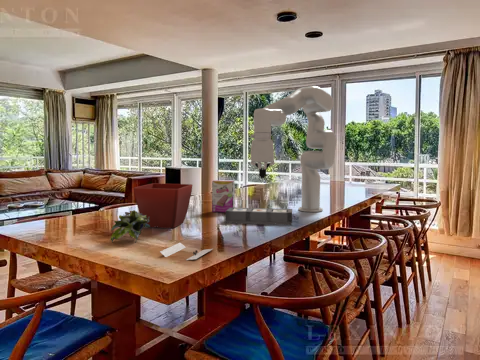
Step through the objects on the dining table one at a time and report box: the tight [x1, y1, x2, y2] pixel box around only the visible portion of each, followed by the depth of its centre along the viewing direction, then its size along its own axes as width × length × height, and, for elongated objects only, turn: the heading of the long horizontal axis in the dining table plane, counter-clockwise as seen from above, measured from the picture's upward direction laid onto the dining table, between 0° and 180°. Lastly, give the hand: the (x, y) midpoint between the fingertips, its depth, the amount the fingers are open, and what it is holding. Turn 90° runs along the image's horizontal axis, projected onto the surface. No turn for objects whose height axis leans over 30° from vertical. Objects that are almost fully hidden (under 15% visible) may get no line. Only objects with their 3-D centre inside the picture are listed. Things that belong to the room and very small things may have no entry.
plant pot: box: [133, 182, 193, 229], centre depth 153 cm, size 19×19×17 cm
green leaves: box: [109, 209, 151, 244], centre depth 127 cm, size 13×12×14 cm
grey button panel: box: [224, 207, 293, 226], centre depth 163 cm, size 14×29×5 cm, turn 81°
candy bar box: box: [211, 179, 235, 213], centre depth 187 cm, size 11×5×16 cm, turn 84°
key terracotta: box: [253, 209, 267, 212], centre depth 163 cm, size 6×6×3 cm
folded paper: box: [159, 242, 213, 261], centre depth 111 cm, size 12×12×2 cm
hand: (262, 178), depth 163 cm, fingers closed
